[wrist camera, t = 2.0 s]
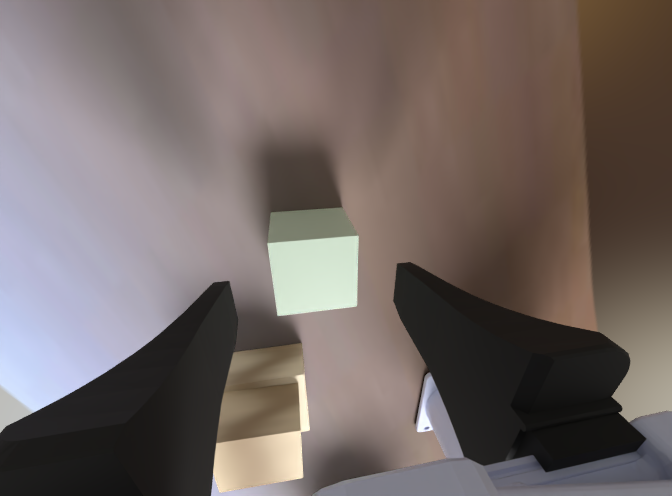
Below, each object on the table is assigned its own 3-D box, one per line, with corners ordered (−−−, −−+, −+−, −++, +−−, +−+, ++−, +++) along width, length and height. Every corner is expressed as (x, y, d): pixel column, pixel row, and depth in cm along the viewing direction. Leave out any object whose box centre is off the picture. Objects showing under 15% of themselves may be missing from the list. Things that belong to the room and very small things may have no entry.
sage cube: (341, 206, 16) (358, 235, 13) (342, 266, 18) (356, 306, 14) (270, 211, 16) (267, 243, 12) (278, 273, 17) (277, 316, 14)
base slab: (301, 339, 20) (304, 374, 18) (306, 393, 23) (309, 430, 21) (215, 351, 20) (204, 389, 17) (231, 405, 22) (224, 446, 20)
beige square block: (298, 382, 18) (300, 430, 15) (300, 429, 20) (303, 477, 18) (216, 392, 17) (204, 445, 15) (228, 440, 20) (219, 492, 17)
